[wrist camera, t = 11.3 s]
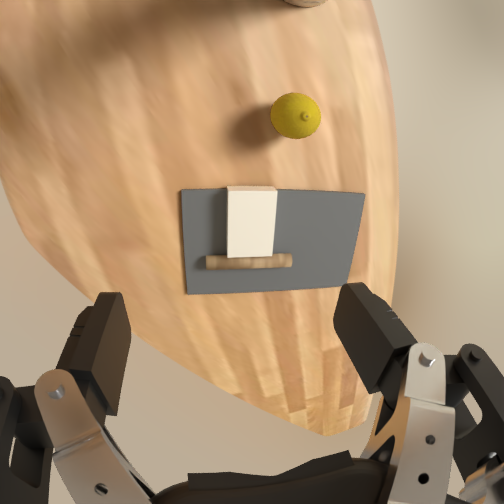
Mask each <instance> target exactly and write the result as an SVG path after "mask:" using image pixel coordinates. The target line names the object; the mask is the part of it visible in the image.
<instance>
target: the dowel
mask: <svg viewBox="0 0 504 504" xmlns="http://www.w3.org/2000/svg"><path fill="white" fill-rule="evenodd" d="M291 266H292V255H291V253H278V254H272V256H263V257H233V258H228V257H227V255H207V256H206V270H224V269H253V268H279V267H291Z"/></svg>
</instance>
